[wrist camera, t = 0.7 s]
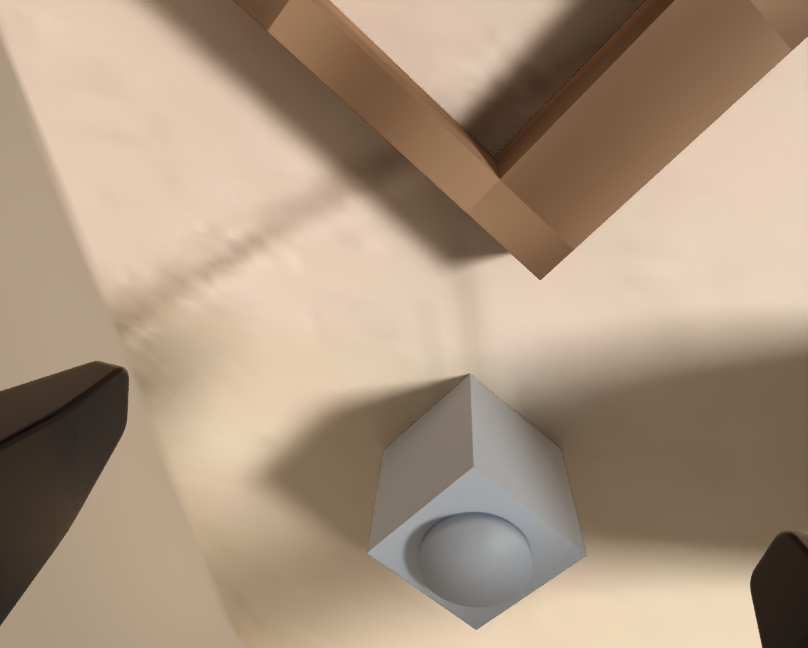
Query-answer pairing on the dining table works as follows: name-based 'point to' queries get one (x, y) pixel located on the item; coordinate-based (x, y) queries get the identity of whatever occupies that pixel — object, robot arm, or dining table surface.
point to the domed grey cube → (474, 506)
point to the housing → (557, 111)
